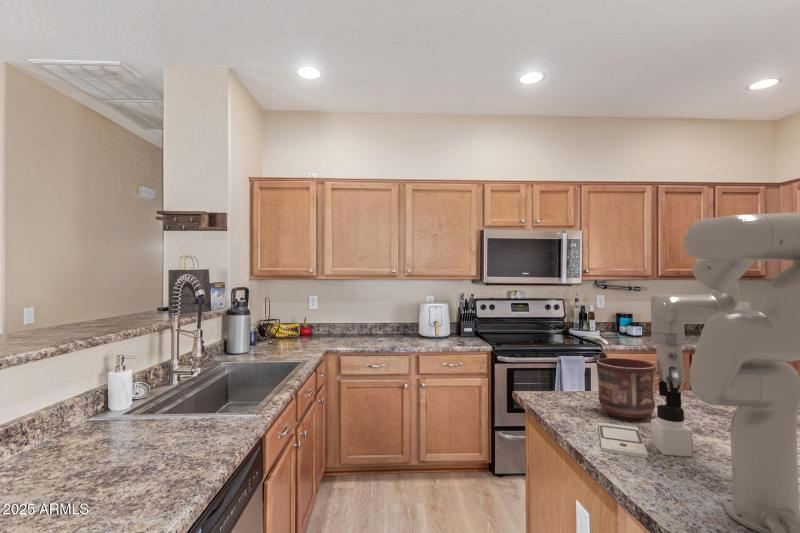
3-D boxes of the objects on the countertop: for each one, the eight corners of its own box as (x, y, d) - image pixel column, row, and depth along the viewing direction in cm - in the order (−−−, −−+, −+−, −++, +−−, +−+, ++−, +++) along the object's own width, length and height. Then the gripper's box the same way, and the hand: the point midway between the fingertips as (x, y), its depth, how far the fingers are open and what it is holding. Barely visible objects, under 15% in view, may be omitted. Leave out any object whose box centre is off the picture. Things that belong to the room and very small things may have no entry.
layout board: (648, 458, 102) (648, 453, 102) (601, 451, 107) (601, 446, 107) (637, 430, 120) (637, 426, 120) (598, 425, 125) (598, 421, 125)
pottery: (645, 429, 121) (644, 371, 122) (588, 414, 135) (587, 361, 135) (665, 416, 132) (663, 363, 133) (610, 403, 146) (609, 355, 146)
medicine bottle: (693, 457, 102) (691, 411, 103) (663, 455, 104) (661, 409, 104) (679, 445, 109) (678, 402, 110) (651, 443, 111) (650, 401, 111)
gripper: (692, 345, 98) (695, 413, 98) (676, 334, 114) (678, 393, 113) (657, 343, 101) (659, 409, 101) (646, 333, 117) (648, 390, 117)
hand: (669, 401), depth 107 cm, fingers open, 9 cm apart
